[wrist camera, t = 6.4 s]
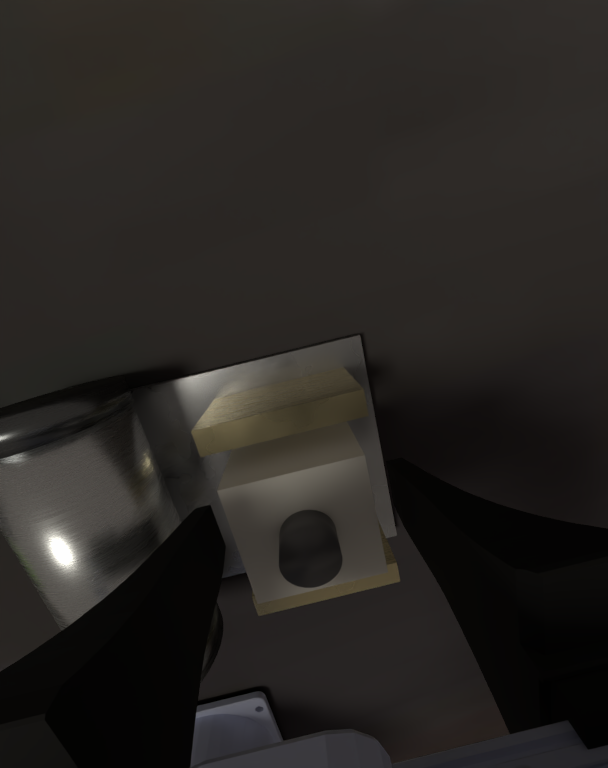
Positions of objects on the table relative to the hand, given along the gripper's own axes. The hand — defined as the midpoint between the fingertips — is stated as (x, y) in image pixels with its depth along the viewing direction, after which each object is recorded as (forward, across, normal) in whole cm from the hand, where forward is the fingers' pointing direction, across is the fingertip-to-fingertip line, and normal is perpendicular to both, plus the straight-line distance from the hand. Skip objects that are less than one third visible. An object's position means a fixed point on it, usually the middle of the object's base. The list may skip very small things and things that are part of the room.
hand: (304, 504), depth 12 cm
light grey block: (+3, 0, 0) cm, 3 cm away
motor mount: (+4, +3, 0) cm, 5 cm away
